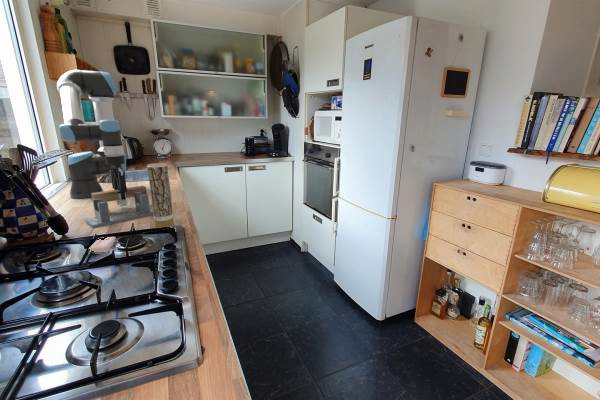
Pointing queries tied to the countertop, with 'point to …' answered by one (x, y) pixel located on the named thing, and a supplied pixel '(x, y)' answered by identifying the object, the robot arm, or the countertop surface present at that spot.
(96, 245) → the soap bar
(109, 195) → the walnut rail
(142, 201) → the cup bracket
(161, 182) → the bark textured post
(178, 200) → the countertop surface
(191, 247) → the countertop surface
